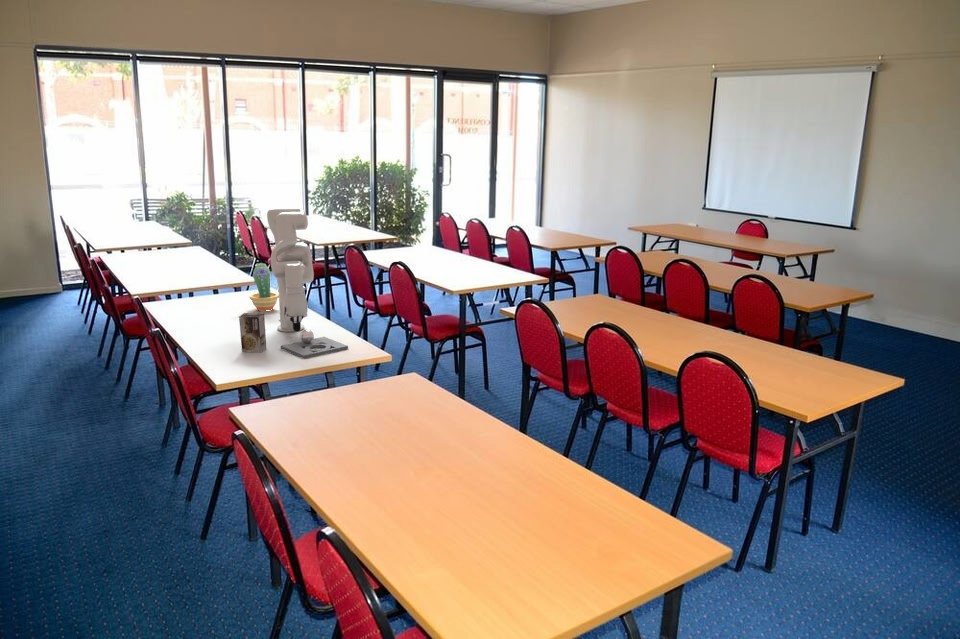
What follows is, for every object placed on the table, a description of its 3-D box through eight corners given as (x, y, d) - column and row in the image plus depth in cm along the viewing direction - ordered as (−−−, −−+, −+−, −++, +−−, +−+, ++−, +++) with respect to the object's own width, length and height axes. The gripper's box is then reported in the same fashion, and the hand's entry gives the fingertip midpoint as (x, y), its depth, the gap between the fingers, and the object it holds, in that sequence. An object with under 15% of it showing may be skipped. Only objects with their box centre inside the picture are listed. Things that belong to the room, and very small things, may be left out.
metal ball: (297, 342, 328) (297, 329, 327) (309, 340, 332) (309, 327, 330) (304, 345, 324) (304, 332, 322) (316, 342, 328) (316, 330, 326)
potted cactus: (244, 311, 388) (240, 265, 382) (260, 305, 403) (257, 260, 396) (269, 314, 384) (266, 267, 378) (285, 307, 398) (283, 262, 392)
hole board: (280, 348, 324) (280, 345, 323) (324, 339, 338) (324, 336, 338) (303, 358, 310) (303, 355, 309) (348, 349, 324) (348, 345, 324)
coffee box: (267, 348, 323) (264, 313, 319) (261, 353, 317) (259, 316, 313) (247, 347, 324) (244, 312, 320) (241, 352, 318) (238, 316, 314)
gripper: (305, 287, 336) (307, 327, 340) (275, 291, 326) (277, 332, 330) (313, 290, 331) (315, 329, 335) (283, 294, 321) (286, 334, 325)
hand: (296, 330), depth 332 cm, fingers closed
